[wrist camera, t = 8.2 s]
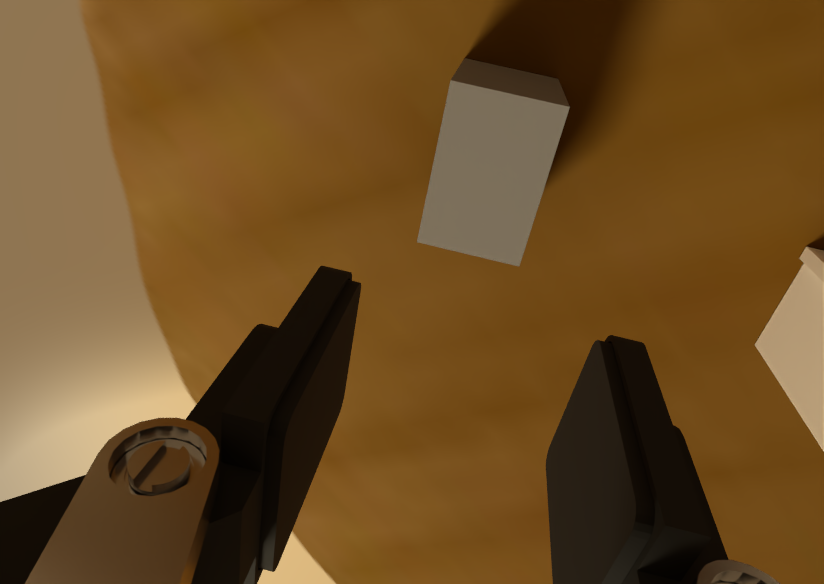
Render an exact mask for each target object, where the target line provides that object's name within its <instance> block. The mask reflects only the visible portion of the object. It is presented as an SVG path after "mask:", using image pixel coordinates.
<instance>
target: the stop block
mask: <svg viewBox="0 0 824 584" xmlns="http://www.w3.org/2000/svg"><path fill="white" fill-rule="evenodd" d="M569 108H570V106H569V104H568V101H567V99H566V96H565V94H564V92H563V89H562V87H561V84H560V82H559V80H558V79H557V78H552V77H548V76H543V75H539V74H534V73H530V72H525V71H521V70H516V69H512V68H507V67H503V66H498V65H494V64H489V63H485V62H480V61H476V60H471V59H467V58H464V60H463V62H462V63H461V65H460V66H459V68H458V69H457V71H456V73H455V74H454V76H453V77H452V79H451V81H450V86H449V91H448V96H447V100H446V105H445V110H444V115H443V120H442V124H441V129H440V134H439V139H438V144H437V148H436V153H435V158H434V163H433V168H432V172H431V177H430V182H429V187H428V192H427V196H426V201H425V206H424V211H423V216H422V220H421V225H420V230H419V235H418V239H417V242H419V243H423V244H427V245H431V246H436V247H440V248H444V249H448V250H452V251H457V252H461V253H465V254H469V255H473V256H478V257H482V258H486V259H490V260H494V261H499V262H503V263H507V264H511V265H515V266H519V265H520V262H521V259H522V256H523V253H524V250H525V247H526V243H527V240H528V237H529V234H530V231H531V228H532V225H533V222H534V218H535V215H536V212H537V209H538V206H539V203H540V200H541V196H542V193H543V190H544V187H545V184H546V181H547V178H548V174H549V171H550V168H551V165H552V162H553V159H554V156H555V152H556V149H557V146H558V143H559V140H560V137H561V134H562V130H563V127H564V124H565V121H566V118H567V115H568V112H569Z"/></svg>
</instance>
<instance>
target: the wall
mask: <svg viewBox="0 0 824 584" xmlns="http://www.w3.org/2000/svg"><path fill="white" fill-rule="evenodd" d="M800 259H801V260H802V261H803V262H804V264H803V266H802V267H801V269H800V271H799V272H798V274H797V276H796V277H795V279H794V281H793V282H792V284H791V286H790V287H789V289H788V290H787V292H786V294H785V295H784V297H783V299H782V300H781V302H780V304H779V305H778V307H777V309H776V310H775V312H774V314H773V315H772V317H771V319H770V320H769V322H768V324H767V325H766V327H765V329H764V330H763V332H762V334H761V335H760V337H759V338H758V340H757V342H756V343H755V346H756V348H757V349H758V351H759V352H760V354H761V355H762V357H763V358H764V360H765V361H766V363H767V365H768V366H769V368H770V369H771V371H772V372H773V374H774V375H775V377H776V378H777V380H778V382H779V383H780V385H781V386H782V388H783V389H784V391H785V392H786V394H787V395H788V397H789V399H790V400H791V402H792V403H793V405H794V406H795V408H796V409H797V411H798V413H799V414H800V416H801V417H802V419H803V420H804V422H805V423H806V425H807V426H808V428H809V430H810V431H811V433H812V434H813V436H814V437H815V439H816V440H817V442H818V443H819V445H820V447H821V448H822V450H823V451H824V250H819V249H815V248H810V247H806V248H805V250H804V251H803V253H802V255H801V256H800Z"/></svg>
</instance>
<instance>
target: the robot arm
mask: <svg viewBox="0 0 824 584" xmlns="http://www.w3.org/2000/svg"><path fill="white" fill-rule="evenodd" d="M360 291H361V283H359V282H354V281H352V274H351V272H347V271H342V270H338V269H334V268H330V267H326V266H320V268H319V269H318V270H317V272H316V273H315V275H314V276H313V278H312V279H311V281H310V282H309V284H308V285H307V287H306V288H305V290H304V291H303V292H302V294H301V295H300V297H299V298H298V300H297V301H296V303H295V304H294V306H293V307H292V309H291V310H290V312H289V313H288V315H287V316H286V318H285V319H284V321H283V322H282V323H281V325H280V326H279V328H276V327H272V326H268V325H264V324H259V325H257V326H256V327H255V328H254V329H253V330H252V331H251V333H250V334H249V335H248V337H247V338H246V339H245V341H244V342H243V343H242V345H241V346H240V347H239V349H238V350H237V351H236V353H235V354H234V355H233V357H232V358H231V359H230V361H229V362H228V363H227V365H226V366H225V367H224V369H223V370H222V371H221V373H220V374H219V375H218V377H217V378H216V379H215V381H214V382H213V383H212V385H211V386H210V387H209V389H208V390H207V391H206V393H205V394H204V395H203V397H202V398H201V399H200V401H199V402H198V403H197V405H196V406H195V407H194V409H193V410H192V411H191V413H190V414H189V416H188V417H187V418H186V420H184V419H180V418H157V419H152V420H148V421H143V422H139V423H137V424H135V425H133V426H130V427H128V428H125V429H123V430H122V431H121V432H119V433H118V434H116V435H115V436H114V437H112V438H111V439H110V440H108V442H107V443H106V444H105V445H104V447H103V448H102V449H101V450H100V452H99V453H98V455H97V456H96V458H95V460H94V462H93V463H92V465H91V467H90V469H89V471H88V472H87V474H86V475H84V476H81V477H78V478H75V479H72V480H68V481H65V482H62V483H59V484H56V485H53V486H49V487H46V488H43V489H40V490H37V491H34V492H31V493H28V494H25V495H21V496H18V497H15V498H12V499H9V500H6V501H2V502H0V584H257V582H258V580H259V577H260V575H261V573H262V570H263V569H265V570H269V571H272V572H274V571H275V569H276V568H277V566H278V563H279V561H280V559H281V556H282V554H283V551H284V549H285V546H286V544H287V541H288V539H289V536H290V534H291V532H292V529H293V527H294V524H295V522H296V519H297V517H298V514H299V512H300V509H301V507H302V504H303V502H304V499H305V497H306V495H307V492H308V490H309V487H310V485H311V482H312V480H313V477H314V475H315V472H316V470H317V467H318V465H319V462H320V460H321V458H322V455H323V453H324V450H325V448H326V445H327V443H328V440H329V438H330V435H331V433H332V430H333V428H334V425H335V423H336V421H337V418H338V416H339V413H340V410H341V407H342V403H343V399H344V393H345V387H346V381H347V374H348V368H349V361H350V355H351V349H352V342H353V336H354V329H355V323H356V317H357V310H358V304H359V297H360ZM546 476H547V492H548V509H549V526H550V542H551V559H552V576H553V584H780V583H779V582H777V581H776V580H775V579H773V578H772V577H771V576H769V575H768V574H766V573H764V572H762V571H760V570H758V569H756V568H754V567H752V566H751V565H747V564H744V563H741V562H737V561H734V560H728V557H727V554H726V552H725V549H724V546H723V543H722V541H721V538H720V535H719V532H718V530H717V527H716V524H715V521H714V519H713V516H712V513H711V510H710V508H709V505H708V502H707V499H706V497H705V494H704V491H703V488H702V486H701V483H700V480H699V477H698V475H697V472H696V469H695V466H694V464H693V461H692V458H691V455H690V453H689V450H688V447H687V444H686V442H685V439H684V436H683V434H682V433H681V431H680V429H679V428H677V427H676V426H673V424H672V421H671V419H670V416H669V413H668V410H667V407H666V404H665V401H664V399H663V396H662V393H661V390H660V387H659V384H658V381H657V378H656V376H655V373H654V370H653V367H652V364H651V361H650V358H649V355H648V353H647V350H646V347H645V345H644V343H642V342H638V341H634V340H630V339H625V338H621V337H617V336H613V335H610V336H608V337H607V339H606V340H605V342H603V341H599V340H597V341H595V342H594V344H593V346H592V348H591V350H590V353H589V355H588V357H587V360H586V362H585V364H584V367H583V369H582V371H581V374H580V376H579V379H578V381H577V383H576V386H575V388H574V390H573V393H572V395H571V397H570V400H569V402H568V404H567V407H566V409H565V411H564V414H563V416H562V419H561V421H560V423H559V426H558V428H557V430H556V433H555V435H554V437H553V440H552V442H551V444H550V447H549V450H548V454H547V459H546Z"/></svg>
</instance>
